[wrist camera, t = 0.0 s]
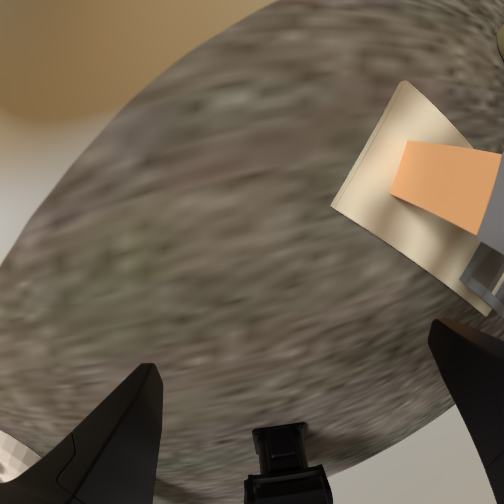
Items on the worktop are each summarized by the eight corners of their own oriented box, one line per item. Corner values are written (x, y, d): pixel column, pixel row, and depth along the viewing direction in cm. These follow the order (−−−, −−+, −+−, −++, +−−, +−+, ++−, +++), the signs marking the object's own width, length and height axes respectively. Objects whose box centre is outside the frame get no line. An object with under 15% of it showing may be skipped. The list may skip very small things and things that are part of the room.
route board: (527, 233, 24) (553, 247, 20) (481, 313, 28) (504, 334, 23) (399, 81, 18) (436, 73, 14) (330, 205, 22) (355, 224, 17)
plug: (429, 214, 21) (535, 274, 10) (387, 194, 21) (501, 253, 10) (447, 162, 20) (561, 197, 9) (406, 137, 19) (531, 157, 8)
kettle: (32, 442, 34) (5, 511, 18) (71, 485, 42) (56, 541, 25) (-29, 412, 33) (-57, 466, 16) (11, 460, 40) (-7, 508, 24)
